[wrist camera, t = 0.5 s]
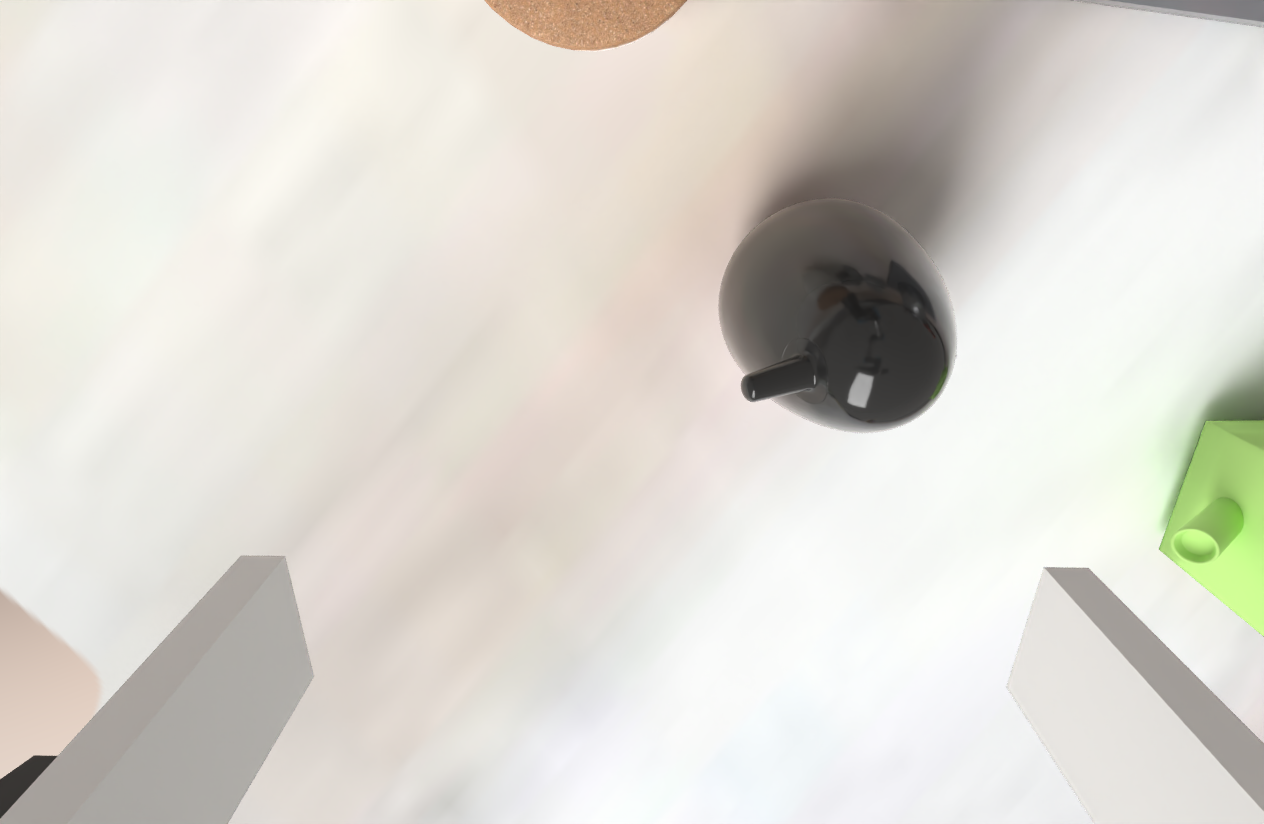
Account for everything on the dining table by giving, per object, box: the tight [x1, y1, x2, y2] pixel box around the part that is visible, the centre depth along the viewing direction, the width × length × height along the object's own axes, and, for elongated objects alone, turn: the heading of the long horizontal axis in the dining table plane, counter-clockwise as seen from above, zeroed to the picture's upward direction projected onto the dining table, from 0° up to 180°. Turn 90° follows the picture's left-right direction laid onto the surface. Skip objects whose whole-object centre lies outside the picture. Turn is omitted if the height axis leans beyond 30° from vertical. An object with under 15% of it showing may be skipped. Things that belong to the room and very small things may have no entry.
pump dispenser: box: [718, 198, 957, 433], centre depth 30 cm, size 10×10×15 cm
